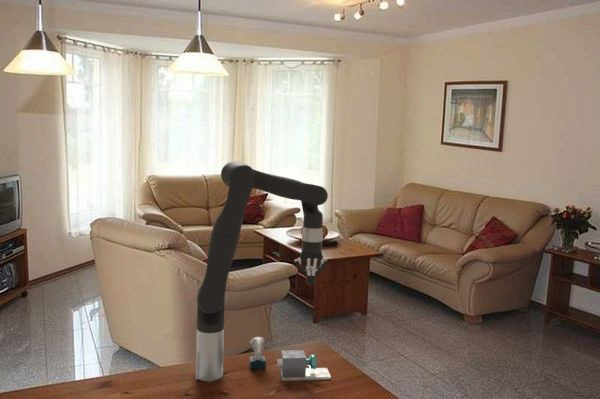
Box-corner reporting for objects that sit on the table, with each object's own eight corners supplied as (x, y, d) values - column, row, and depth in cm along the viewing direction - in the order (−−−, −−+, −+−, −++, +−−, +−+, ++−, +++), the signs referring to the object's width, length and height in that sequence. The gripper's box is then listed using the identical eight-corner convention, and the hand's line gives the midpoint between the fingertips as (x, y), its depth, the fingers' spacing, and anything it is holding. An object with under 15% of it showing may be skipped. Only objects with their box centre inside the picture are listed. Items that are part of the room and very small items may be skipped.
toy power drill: (264, 362, 204) (265, 333, 203) (265, 371, 197) (267, 342, 195) (249, 362, 204) (249, 333, 202) (250, 372, 196) (251, 342, 194)
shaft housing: (282, 380, 190) (283, 358, 189) (280, 371, 197) (281, 350, 196) (330, 379, 193) (331, 357, 192) (327, 370, 200) (328, 349, 199)
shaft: (278, 372, 191) (278, 358, 190) (276, 366, 196) (277, 352, 195) (316, 371, 193) (317, 358, 192) (314, 365, 198) (314, 352, 197)
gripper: (295, 241, 197) (293, 287, 200) (331, 241, 199) (329, 287, 202) (292, 236, 205) (291, 281, 207) (327, 237, 207) (325, 281, 209)
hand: (310, 284), depth 204 cm, fingers closed
